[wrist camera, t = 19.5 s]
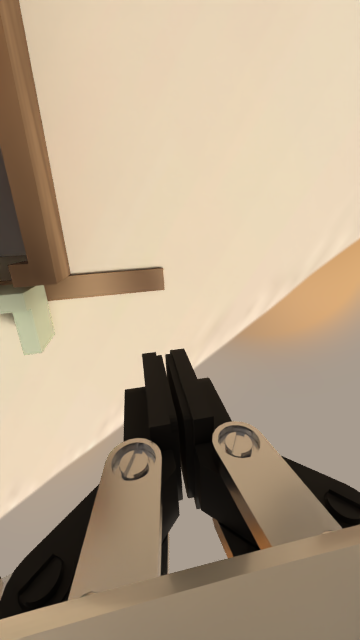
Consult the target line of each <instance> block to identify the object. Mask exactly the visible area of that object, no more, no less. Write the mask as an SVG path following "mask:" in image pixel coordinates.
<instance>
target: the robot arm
mask: <svg viewBox="0 0 360 640" xmlns="http://www.w3.org/2000/svg"><path fill="white" fill-rule="evenodd" d="M142 358H143V368H144V378H145V387H140V388H133V389H126V390H125V406H124V442H122V443H120V444H119V445H118V446H116V447H115V448H114V449H113V450H112V451H111V452H110V454H109V455H108V457H107V460H106V462H105V465H104V469H103V473H102V476H101V481H100V484H99V485H98V486H97V487H96V488H95V489H94V490H93V491H92V492H91V493H90V494H89V495H88V496H87V497H86V498H85V499H84V500H83V501H82V502H81V503H80V504H79V505H78V506H77V507H76V508H75V509H74V510H73V511H72V512H71V513H70V514H69V515H68V516H67V517H66V518H65V519H64V520H63V521H62V522H61V523H60V524H59V525H58V526H57V527H56V528H55V529H54V530H53V531H52V532H51V533H50V534H49V535H48V536H47V537H46V538H45V539H43V540H42V542H41V543H39V544H38V545H37V547H35V548H34V549H33V550H32V551H31V552H30V553H29V554H28V555H27V556H26V557H25V558H24V560H23V561H22V562H21V563H20V564H19V566H18V567H17V568H16V569H15V570H14V572H13V573H12V574H10V575H8V576H6V577H4V578H2V579H1V577H0V640H360V492H358V491H357V490H355V489H354V488H352V487H350V486H348V485H346V484H344V483H342V482H339V481H337V480H335V479H333V478H331V477H328V476H326V475H324V474H321V473H319V472H317V471H315V470H312V469H310V468H307V467H305V466H303V465H301V464H298V463H296V462H294V461H292V460H289V459H287V458H285V457H283V456H280V454H279V453H278V452H277V451H276V450H275V449H274V447H273V446H272V445H271V444H270V443H269V441H268V440H267V439H266V438H265V437H264V436H263V435H262V433H261V432H260V431H259V430H257V429H256V428H255V427H253V426H251V425H250V424H247V423H243V422H236V421H231V419H230V417H229V415H228V413H227V411H226V409H225V407H224V405H223V403H222V401H221V399H220V398H219V396H218V394H217V392H216V390H215V388H214V386H213V384H212V382H211V380H210V379H209V378H202V379H197V377H196V375H195V372H194V370H193V368H192V366H191V363H190V361H189V359H188V356H187V354H186V352H185V350H184V349H177V350H170V354H166V371H167V375H166V371H165V367H164V363H163V359H162V355H158V356H156V352H153V353H145V354H142ZM181 469H182V474H183V479H184V483H185V488H186V493H187V497H188V498H192V497H194V500H195V504H196V508H197V509H200V508H201V510H202V511H203V512H205V513H206V514H208V515H210V516H211V517H212V520H213V523H214V527H215V530H216V532H217V534H218V537H219V539H220V541H221V544H222V546H223V548H224V551H225V553H226V555H227V557H228V559H224V560H220V561H217V562H213V563H209V564H205V565H201V566H197V567H194V568H190V569H186V570H182V571H178V572H174V573H171V574H169V531H170V529H171V527H172V526H173V524H174V523H175V521H176V519H177V518H178V516H179V502H178V501H179V500H182V499H183V495H182V479H181Z"/></svg>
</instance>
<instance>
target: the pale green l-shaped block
mask: <svg viewBox="0 0 360 640" xmlns="http://www.w3.org/2000/svg"><path fill="white" fill-rule="evenodd" d="M5 313H13V317H14V320H15V324H16V328H17V331H18V335H19V339H20V342H21V346H22V350H23V353H24V355H29V354H36V353H42V352H43V350H44V349H45V348H46V346H47V345H48V343H49V342H50V340H51V339H52V338H53V336H54V335H55V332H54V328H53V323H52V319H51V315H50V310H49V306H48V301H47V297H46V292H45V288H44V285H40V286H28V287H16V288H14V287H13V284H11V285H0V314H5Z"/></svg>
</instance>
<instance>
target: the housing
mask: <svg viewBox="0 0 360 640" xmlns="http://www.w3.org/2000/svg"><path fill="white" fill-rule="evenodd" d="M18 255H26V256H27V261H23V262H19V263H15V264H11V265H8V268H9V272H10V275H11V279H12V280H10V281H0V285H11V284H13V287H14V288H16V287H28V286H40V285H44V288H45V292H46V297H47V301H53V300H63V299H73V298H84V297H94V296H104V295H115V294H125V293H136V292H146V291H156V290H164V277H163V268H158V269H145V270H133V271H121V272H108V273H96V274H84V275H72V276H69V275H70V269H69V263H68V258H67V253H66V248H65V242H64V237H63V232H62V226H61V221H60V216H59V211H58V205H57V200H56V195H55V189H54V184H53V179H52V174H51V168H50V163H49V158H48V153H47V147H46V142H45V137H44V131H43V126H42V121H41V116H40V110H39V105H38V100H37V94H36V89H35V84H34V79H33V73H32V68H31V63H30V58H29V52H28V47H27V42H26V36H25V31H24V26H23V21H22V15H21V10H20V5H19V0H0V257H3V256H18Z"/></svg>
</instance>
